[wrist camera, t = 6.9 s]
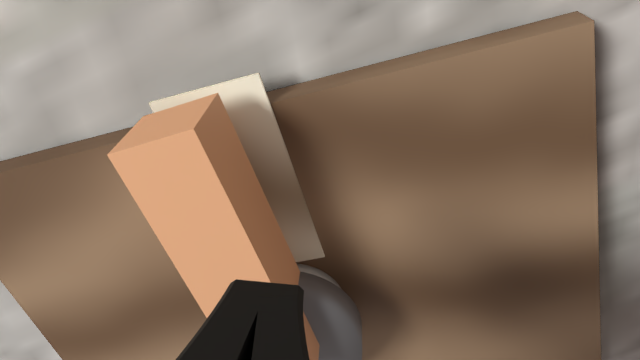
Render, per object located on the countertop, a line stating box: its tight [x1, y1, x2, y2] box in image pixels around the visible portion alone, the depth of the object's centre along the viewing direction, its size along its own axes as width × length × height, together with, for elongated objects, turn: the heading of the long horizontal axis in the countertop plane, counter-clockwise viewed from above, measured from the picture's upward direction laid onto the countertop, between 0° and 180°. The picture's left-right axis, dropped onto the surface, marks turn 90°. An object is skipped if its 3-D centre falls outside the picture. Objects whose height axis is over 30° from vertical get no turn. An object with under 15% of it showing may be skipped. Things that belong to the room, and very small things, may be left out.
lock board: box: [0, 11, 601, 360], centre depth 19 cm, size 17×22×2 cm
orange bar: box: [107, 93, 362, 360], centre depth 16 cm, size 12×5×2 cm, turn 19°
